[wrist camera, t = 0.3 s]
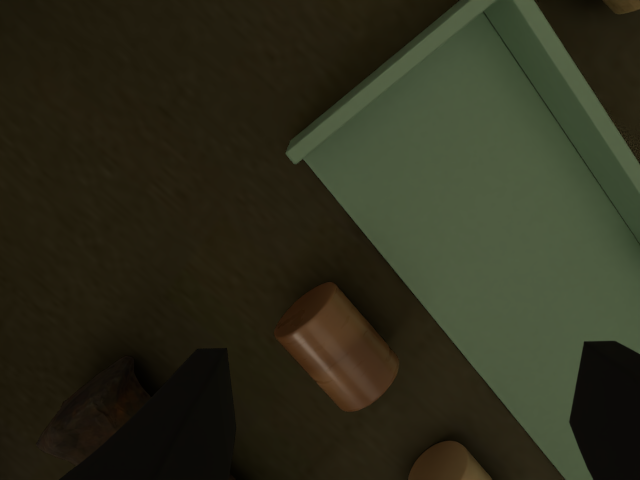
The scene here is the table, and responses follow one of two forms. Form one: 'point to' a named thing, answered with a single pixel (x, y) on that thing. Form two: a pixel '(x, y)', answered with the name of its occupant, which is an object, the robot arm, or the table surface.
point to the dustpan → (495, 202)
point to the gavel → (623, 5)
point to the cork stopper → (337, 347)
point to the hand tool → (95, 413)
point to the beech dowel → (447, 464)
